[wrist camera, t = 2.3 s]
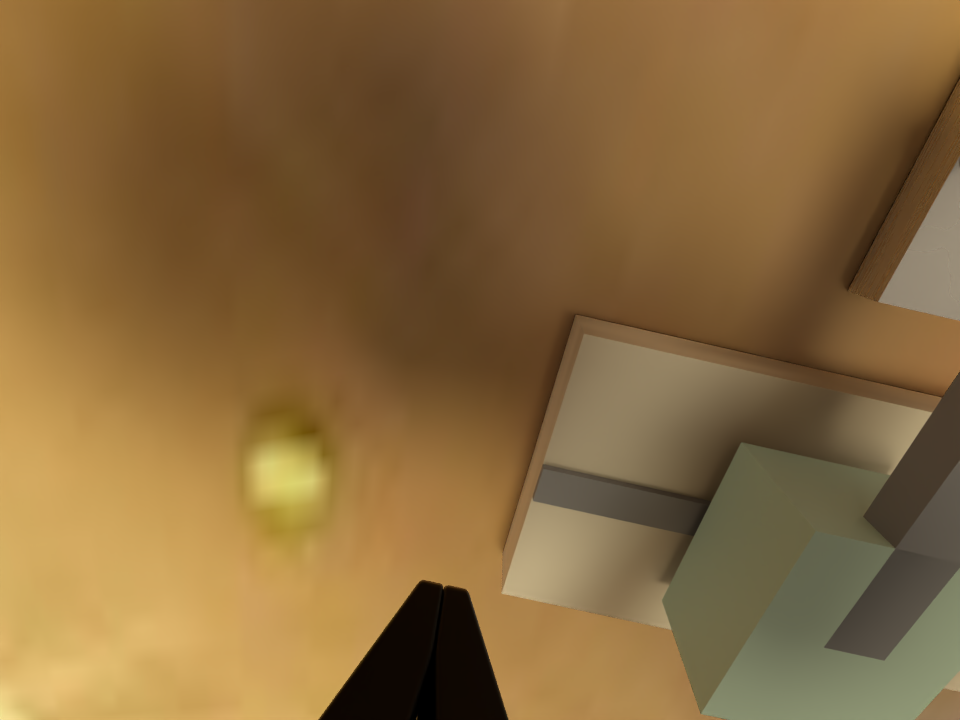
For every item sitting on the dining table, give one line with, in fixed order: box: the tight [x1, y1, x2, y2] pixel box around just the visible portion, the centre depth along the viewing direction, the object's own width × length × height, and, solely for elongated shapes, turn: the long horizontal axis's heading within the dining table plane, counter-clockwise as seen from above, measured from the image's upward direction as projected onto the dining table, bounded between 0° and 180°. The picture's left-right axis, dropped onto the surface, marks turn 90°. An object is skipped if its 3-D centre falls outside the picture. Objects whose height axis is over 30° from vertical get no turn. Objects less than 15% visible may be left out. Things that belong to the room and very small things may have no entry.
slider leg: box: [662, 158, 960, 720], centre depth 9 cm, size 4×12×3 cm, turn 168°
